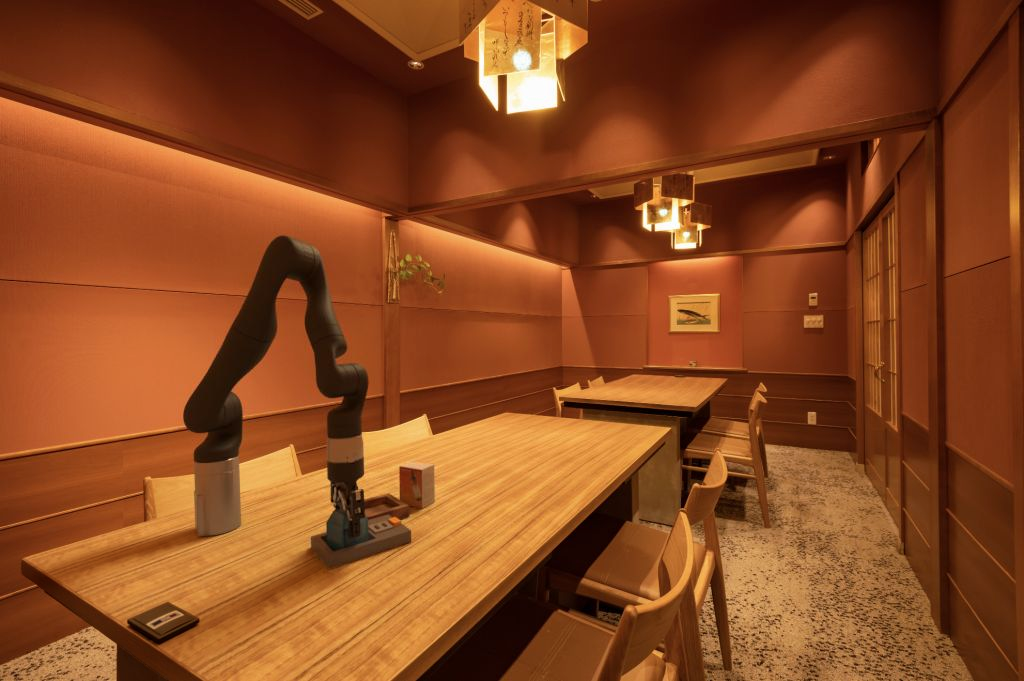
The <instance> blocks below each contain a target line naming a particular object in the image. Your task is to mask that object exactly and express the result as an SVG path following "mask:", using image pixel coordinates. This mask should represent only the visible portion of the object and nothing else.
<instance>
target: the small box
mask: <svg viewBox="0 0 1024 681" xmlns="http://www.w3.org/2000/svg"><path fill="white" fill-rule="evenodd" d="M398 469H399V471H398V472H399V473H398V474H399V475H398V476H399V500H401V501H402V502H404V503H405V504H407V505H409V507H410V506H411V507H415V508H419V509H421V510H422V509H424V508H427V507H428V506H430V505H431V504H434V503H435V500H436V496H435V495H436V494H435V493H436V492H435V490H436V488H435V486H436V485H435V484H436V482H435V480H436V479H435V478H436V477H435V464H432V463H425V462H418V461H413V460H412V461H409V462H406V463H404V464H401V465H399V467H398Z"/></svg>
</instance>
